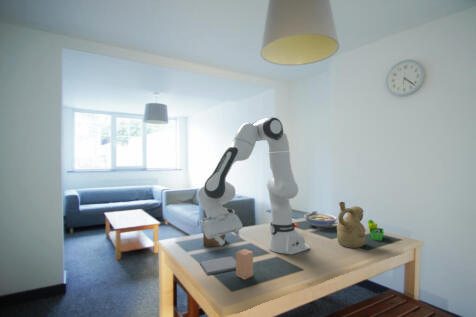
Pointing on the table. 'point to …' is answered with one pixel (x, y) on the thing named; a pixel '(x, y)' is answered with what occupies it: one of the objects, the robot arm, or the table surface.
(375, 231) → the fruit basket
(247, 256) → the block
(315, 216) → the ramen bowl
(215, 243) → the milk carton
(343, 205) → the ceramic vessel
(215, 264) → the mat
